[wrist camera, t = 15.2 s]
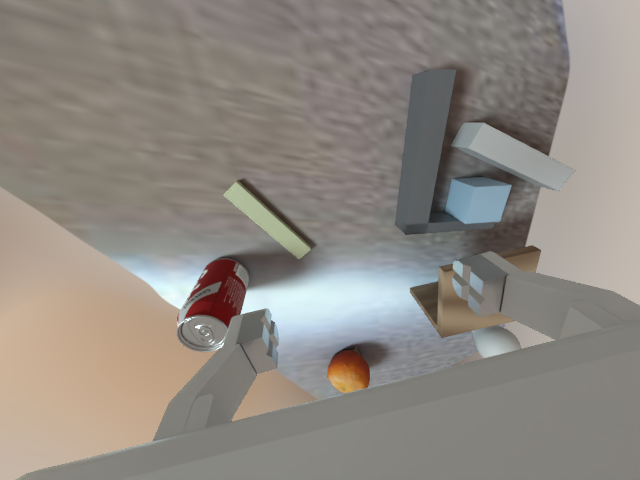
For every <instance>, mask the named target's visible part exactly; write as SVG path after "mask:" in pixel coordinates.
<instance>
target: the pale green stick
mask: <svg viewBox="0 0 640 480" xmlns="http://www.w3.org/2000/svg"><path fill="white" fill-rule="evenodd" d="M224 196H225V197H226V198H227V199H228V200H230V201H231V202H232V203H233V204H234V205H235V206H237V207H238V208H239V209H240V210H241V211H242V212H244V213H245V214H246V215H247V216H248V217H250V218H251V219H252V220H253V221H254V222H255V223H257V224H258V225H259V226H260V227H261V228H262V229H264V230H265V231H266V232H267V233H268V234H269V235H271V236H272V237H273V238H274V239H275V240H277V241H278V242H279V243H280V244H281V245H282V246H284V247H285V248H286V249H287V250H288V251H289V252H291V253H292V254H293V255H294V256H295V257H297V258H298V259H299V260H300V259H301V258H302V257H303V256H304V255H305V254H306V253H308V252H309V251H310V250H311V246H310V245H309V244H308V243H307V242H305V241H304V240H303V239H302V238H301V237H300V236H299V235H298V234H297V233H296V232H294V231H293V230H292V229H291V228H290V227H289V226H288V225H287V224H286V223H284V222H283V221H282V220H281V219H280V218H279V217H278V216H277V215H276V214H275V213H273V212H272V211H271V210H270V209H269V208H268V207H267V206H266V205H265V204H263V203H262V202H261V201H260V200H259V199H258V198H257V197H256V196H255V195H254V194H252V193H251V192H250V191H249V190H248V189H247V188H246V187H245V186H244V185H242V184H241V183H240V182H239V181H238V180H237V181H236V182H235V183H234V184H233V185H232V186H231V187H230V188H229V190H228V191H227V192H226V193H225V194H224Z"/></svg>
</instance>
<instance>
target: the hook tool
mask: <svg viewBox="0 0 640 480" xmlns="http://www.w3.org/2000/svg"><path fill="white" fill-rule="evenodd" d="M455 74H456V69H450V70H427V71H425V72H422V73H419V74H416V75H414V76H413V77H412V85H411V94H410V102H409V111H408V119H407V128H406V136H405V145H404V153H403V162H402V170H401V179H400V187H399V196H398V204H397V213H396V221H395V224H396V225H397V226H398V227H399V228H400V229H401V230H402V231H403V232H404V234H405V235H409V234H422V233H436V232H450V231H463V230H477V229H490V228H493V227H494V224H495V222H485V223H471V224H465V223H463V222H461V221H460V220H458V219H456V218H455V217H453V216H451V215H450V214H448V213H446V212H433V213H430V211H431V205H432V200H433V194H434V189H435V184H436V178H437V173H438V167H439V162H440V156H441V151H442V145H443V140H444V134H445V129H446V124H447V118H448V113H449V107H450V102H451V96H452V91H453V85H454V80H455Z"/></svg>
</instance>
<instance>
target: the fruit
mask: <svg viewBox="0 0 640 480" xmlns="http://www.w3.org/2000/svg"><path fill="white" fill-rule="evenodd" d="M357 347H358V346H357V345H356V348H355V349H354V350H344V351H341V352H339V353H337V354H335V355H334V356H333V358H332V360H331V362H330V364H329V366H328V374H327V377H328V379H329V380H330V381H331V383H332V384H333V386H334V387H335V388H336V389H337V390H339V391H341V392H343V393H348V392H352V391H356V390H360V389H364V388H367V387H368V385H369V381H370V371H369V366H368V364H367V362H366V361H365V360H364V359H363V357H362V356H361V354H360V353H359V352H358V350H357Z"/></svg>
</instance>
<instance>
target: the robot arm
mask: <svg viewBox="0 0 640 480" xmlns="http://www.w3.org/2000/svg"><path fill="white" fill-rule="evenodd" d="M453 270H454V271H455V272H456V273H455V274H454V276H453V277H452V284H453V287H454V290H455V291H456V293H457V294H458V295H459V297H460V298H462V299H464V300H467V301H468V306H469V307H470V308H471V309H472V310H473V311H474V312H475V313H476V314H477V315H478V317H482V316H487V315H491V314H496V313H500V312H501V313H500V314H503V315H505V316H507V317H509V318H511V319H513V320H515V321H517V322H519V323H521V324H523V325H526V326H528V327H530V328H532V329H534V330H536V331H538V332H540V333H542V334H545V335H547V336H549V337H551V338H553V339H555V340H556V341H551V342H547V343H543V344H539V345H535V346H531V347H528V348H524V349H519V350H515V351H511V352H507V353H503V354H499V355H495V356H491V357H487V358H484V359H480V360H476V361H472V362H468V363H464V364H460V365H456V366H452V367H448V368H444V369H440V370H436V371H432V372H428V373H424V374H420V375H416V376H412V377H408V378H404V379H400V380H396V381H392V382H388V383H384V384H380V385H376V386H372V387H368V388H364V389H360V390H356V391H352V392H348V393H344V394H340V395H336V396H332V397H328V398H324V399H320V400H317V401H312V402H308V403H305V404H300V405H296V406H292V407H289V408H284V409H280V410H277V411H273V412H269V413H265V414H261V415H257V416H253V417H249V418H245V419H241V420H237V421H233V422H232V420H231V419H232V418H233V416H234V414H235V412H236V411H237V409H238V407H239V406H240V404H241V402H242V400H243V399H244V397H245V395H246V393H247V392H248V390H249V388H250V386H251V385H252V383H253V381H254V380H255V378H256V376H257V374H258V373H262V372H265V371H269V370H272V369H276V368H277V363H278V352H277V350H276V347H277V346H278V345H279V336H278V330H277V327H276V324H275V322H273V321H271V313H270V311H269V309H262V310H258V311H254V312H249V313H245V314H241V315H237V316H233V317H232V319H231V321H230V325H229V328H228V331H227V335H226V338H225V341H224V345H223V348H221V349H218V351H217V352H216V353H215V354H214V355H213V356H212V357H211V358H210V359H209V360H208V361H207V363H206V364H205V365H204V366H203V367H202V368H201V369H200V370H199V371H198V372H197V373H196V374H195V376H194V377H193V378H192V379H191V380H190V381H189V382H188V383H187V384H186V385H185V386H184V387H183V388H182V390H181V391H180V392H179V393H178V394H177V395H176V396H175V397H174V398H173V399H172V400H171V401H170V402H169V404H168V407H167V409H166V411H165V414H164V416H163V418H162V421H161V423H160V425H159V428H158V430H157V432H156V435H155V437H154V439H153V441H152V442H150V443H146V444H142V445H137V446H133V447H129V448H125V449H121V450H118V451H114V452H110V453H106V454H102V455H98V456H94V457H90V458H86V459H82V460H79V461H74V462H70V463H66V464H62V465H57V466H53V467H48V468H44V469H40V470H37V471H34V472H30V473H27V474H25V475H23V476H21V477H20V478H18V479H16V480H640V306H639V305H638V304H636V303H634V302H632V301H630V300H628V299H626V298H625V297H623V296H621V295H619V294H617V293H615V292H613V291H610V290H605V289H601V288H597V287H593V286H589V285H585V284H580V283H576V282H572V281H568V280H564V279H560V278H555V277H551V276H547V275H543V274H539V273H535V272H530V271H525V272H523V271H522V270H520V269H519V268H517V267H516V266H514V265H513V264H511V263H509V262H508V261H506V260H505V259H503V258H502V257H500V256H499V255H497V254H496V253H494V252H491V251H489V252H485V253H481V254H478V255H475V256H471V257H467V258H464V259H460V260H456V261H454V263H453Z"/></svg>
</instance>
